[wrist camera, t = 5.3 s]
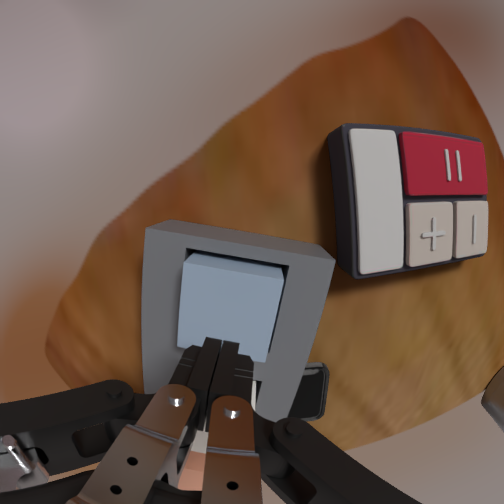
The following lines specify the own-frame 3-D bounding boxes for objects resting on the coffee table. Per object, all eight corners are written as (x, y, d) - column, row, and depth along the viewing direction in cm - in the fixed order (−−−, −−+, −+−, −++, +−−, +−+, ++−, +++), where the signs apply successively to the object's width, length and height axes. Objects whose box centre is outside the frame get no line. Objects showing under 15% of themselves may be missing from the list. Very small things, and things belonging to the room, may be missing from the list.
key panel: (319, 244, 21) (335, 260, 16) (259, 450, 27) (259, 481, 22) (170, 219, 21) (145, 227, 16) (163, 433, 27) (153, 461, 22)
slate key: (279, 261, 19) (284, 279, 15) (264, 332, 20) (265, 362, 16) (198, 247, 19) (183, 262, 15) (190, 319, 20) (177, 346, 16)
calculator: (490, 257, 18) (356, 284, 18) (463, 248, 22) (336, 267, 22) (486, 137, 15) (343, 119, 15) (458, 141, 20) (325, 132, 20)
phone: (170, 369, 24) (330, 365, 23) (173, 362, 25) (328, 359, 24) (186, 422, 25) (323, 420, 25) (188, 415, 26) (321, 413, 26)
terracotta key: (239, 446, 21) (236, 477, 17) (232, 471, 22) (229, 498, 18) (181, 435, 21) (172, 465, 17) (181, 462, 22) (174, 488, 18)
